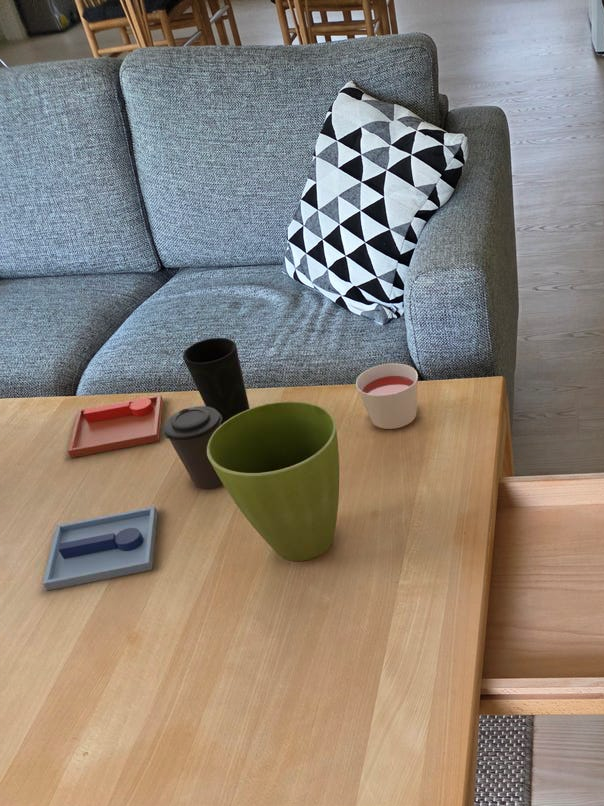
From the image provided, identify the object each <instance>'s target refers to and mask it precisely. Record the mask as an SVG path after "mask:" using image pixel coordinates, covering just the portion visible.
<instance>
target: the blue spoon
mask: <svg viewBox="0 0 604 806" xmlns="http://www.w3.org/2000/svg"><path fill="white" fill-rule="evenodd" d="M143 540H144V539H143V536H142V534H141V532H140V530H139V529H137V528H127V529H124V530H122V531H120V532H119V533H117V534H116V536H115V534H114V533H111V534H106V535H100V536H95V537H90V538H85V539H80V540H75V541H70V542H65V543H60V545H59V552H60V553H61V555H62V557H63V559H66V558H71V557H76V556H81V555H86V554H92V553H97V552H102V551H107V550H112V549H117V548H118V549H120V550H122V551H130V550H134V549H136V548H138V547H139V546H140V545H141V544H142V543H143Z"/></svg>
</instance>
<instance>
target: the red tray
mask: <svg viewBox="0 0 604 806" xmlns="http://www.w3.org/2000/svg"><path fill="white" fill-rule="evenodd" d="M142 398H143V397H141V398H140V397H139V398H135V399H130V400H124V401H119V402H113V403H108V404H103V405H97V406H91V407H87V408H82V409H78V410H77V412H76V416H75V421H74V426H73V428H72V432H71V436H70V441H69V445H68V449H67V453H68V455H69V456H70V458H77V457H82V456H83V457H84V456H88V455H93V454H98V453H103V452H110V451H115V450H120V449H124V448H125V449H126V448H131V447H135V446H136V447H137V446H140V445H147V444H151V443H156V442H160V436H161V426H162V417H163V409H164V399H163V396H162V394H157V395H152V396H146V397H145V398H147V399H150V400H151V403H152V405H153V411H152V412H150V413H149V414H147V415H144V416H134V415H133V414H132V415H127V416H122V417H117V418H111V419H106V420H100V421H95V422H90V423H87V420H86V418H85V416H84V410H86V409H91V408H96V407H102V406H107V405H113V404H118V403H123V402H130V404H131V403H132V402H133V401H135V400H138V399H142Z"/></svg>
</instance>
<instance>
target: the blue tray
mask: <svg viewBox="0 0 604 806" xmlns="http://www.w3.org/2000/svg"><path fill="white" fill-rule="evenodd" d="M157 510H158V509H157V508H156V506H149V507H143V508H139V509H134V510H128V511H124V512H118V513H113V514H108V515H102V516H98V517H93V518H87V519H82V520H76V521H72V522H67V523H62V524H61V523H60V524H57V525H55V529H54V530H55V531H54V534H53V539H52V543H51V547H50V551H49V555H48V561H47V564H46V568H45V571H44V577H43V581H42V585H43V587H44V589H45V590H46V591H53V590H57V589H62V588H67V587H71V586H77V585H78V586H79V585H82V584H88V583H92V582H97V581H102V580H108V579H113V578H117V577H122V576H127V575H133V574H137V573H143V572H148V571H152V570H153V565H154V564H153V563H154V556H155V555H154V554H155V545H156V535H157V527H158V518H159V517H158V515H159V512H158V511H157ZM127 528H137V529H139V530H140V532H141V534H142V536H143V539H144V540H143V543H142V544H141V545H140V546H139V547H138V548H136V549H134V550H130V551H122V550H120V549H118V548H117V549H112V550H107V551H102V552H97V553H92V554H86V555H81V556H76V557H71V558H66V559H63V557H62V555H61V553H60V552H59V545H60V543H65V542H70V541H75V540H80V539H85V538H90V537H95V536H100V535H106V534H111V533H114V534H115V536H116V534H117V533H119V532H120V531H122V530H124V529H127Z"/></svg>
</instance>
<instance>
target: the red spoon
mask: <svg viewBox="0 0 604 806" xmlns="http://www.w3.org/2000/svg"><path fill="white" fill-rule="evenodd" d="M141 398H142V399H140V398H137V399H138V400H135V399H134V400H135V401H133V402H132V403H131V404H130V402H124V401H122V402H123V403H119V402H117V403H118V404H113V403H112V404H113V405H108V404H106V405H107V406H102V405H101V406H102V407H97V406H95V407H96V408H92V407H90V408H91V409H86V408H85V409H86V410H84V416H85V418H86V420H87V423H90V422H95V421H100V420H106V419H111V418H117V417H122V416H127V415H132V414H133V415H134V416H144V415H147V414H149V413H150V412H152V411H153V405H152V403H151V400H150V399H147V398H146V397H141Z"/></svg>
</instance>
